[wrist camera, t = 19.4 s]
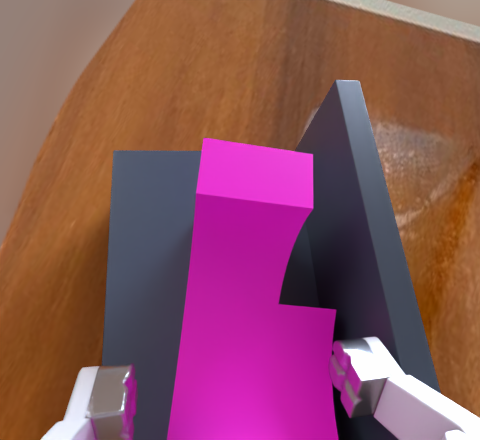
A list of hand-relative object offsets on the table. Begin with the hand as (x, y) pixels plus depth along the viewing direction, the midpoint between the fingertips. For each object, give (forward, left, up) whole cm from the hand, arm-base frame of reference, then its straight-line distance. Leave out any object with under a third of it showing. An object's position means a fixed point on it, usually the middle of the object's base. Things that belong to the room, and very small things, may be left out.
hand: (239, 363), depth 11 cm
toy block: (+1, -1, -5) cm, 5 cm away
